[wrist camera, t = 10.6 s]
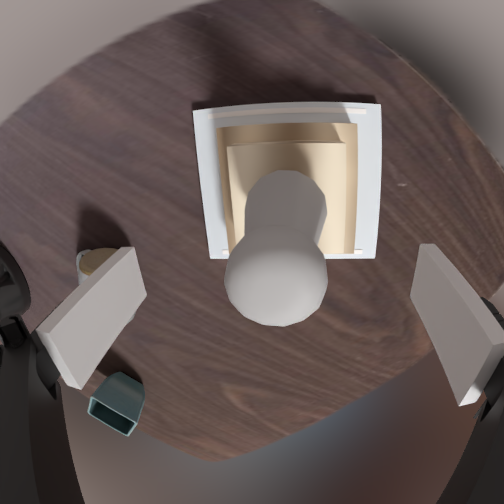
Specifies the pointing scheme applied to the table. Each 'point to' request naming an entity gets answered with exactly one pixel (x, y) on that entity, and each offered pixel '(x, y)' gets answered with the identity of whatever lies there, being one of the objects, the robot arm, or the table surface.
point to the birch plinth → (293, 133)
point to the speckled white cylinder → (93, 263)
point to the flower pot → (118, 402)
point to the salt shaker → (279, 251)
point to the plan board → (292, 113)
